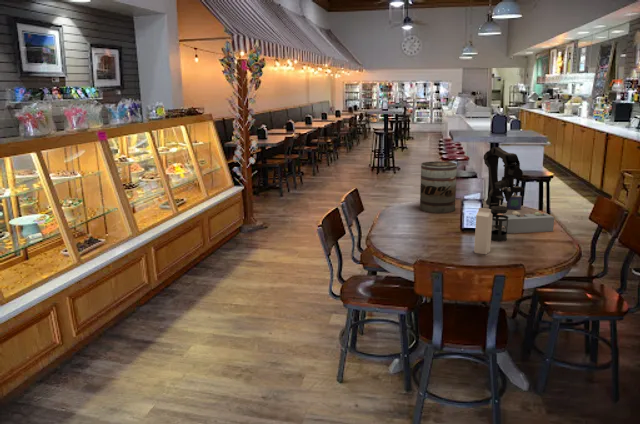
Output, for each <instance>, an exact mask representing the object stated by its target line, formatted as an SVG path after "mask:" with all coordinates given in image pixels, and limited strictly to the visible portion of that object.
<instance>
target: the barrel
mask: <svg viewBox="0 0 640 424" xmlns="http://www.w3.org/2000/svg"><path fill="white" fill-rule="evenodd" d="M457 172H458V164H457V163H456V162H451V161H440V160H439V161H426V162H422V163H421V164H420V194H419V197H420V198H419V200H420V201H419V210H420V211H421V212H424V213H428V214H437V215H438V214H439V215H440V214H443V215H444V214H451V213H454V212H455V211H456V199H457V198H456V195H457V193H456V191H457V176H458V175H457V174H458V173H457Z"/></svg>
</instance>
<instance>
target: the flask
mask: <svg viewBox="0 0 640 424" xmlns="http://www.w3.org/2000/svg"><path fill="white" fill-rule="evenodd" d="M522 199H523V196H522V195H517V193H513V195H512V196H511V198H510V200H509V201H508V202H506V207H508V208H509V209H508V211H520V210H522Z"/></svg>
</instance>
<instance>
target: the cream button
mask: <svg viewBox="0 0 640 424" xmlns="http://www.w3.org/2000/svg"><path fill="white" fill-rule="evenodd" d="M511 215H515V216H517V217H521V212H520V211H518V210H512V212H511Z"/></svg>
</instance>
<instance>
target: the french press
mask: <svg viewBox="0 0 640 424" xmlns="http://www.w3.org/2000/svg"><path fill="white" fill-rule="evenodd" d="M496 197H497V198H499V200H500V202H501V198H504V199H505V196H504V195H503V196H496ZM508 209H509V208H508V207H507V206H504V205H500V206H492V207H491V212H493V213H499V215H492V217H496V218H492V220H493V221H495V225H492V229H494V230H492V231H491V241H494V242H505V241H507V240H508V234H507V227H508V217H507V216H505V215H506V213H507V212H508V211H509V210H508ZM500 214H503V215H500ZM504 214H505V215H504ZM499 217H502V218H506V219H499ZM502 221H507V226H503V225H502ZM505 229H506V232H505V231H502V230H505Z"/></svg>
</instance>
